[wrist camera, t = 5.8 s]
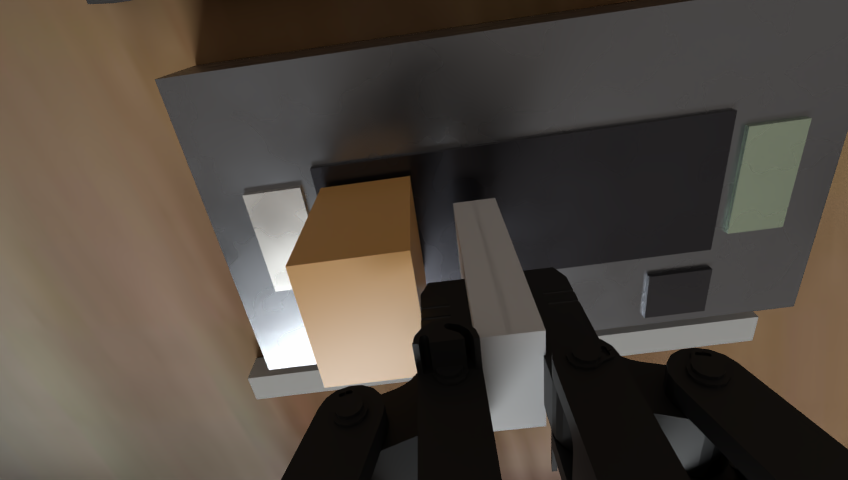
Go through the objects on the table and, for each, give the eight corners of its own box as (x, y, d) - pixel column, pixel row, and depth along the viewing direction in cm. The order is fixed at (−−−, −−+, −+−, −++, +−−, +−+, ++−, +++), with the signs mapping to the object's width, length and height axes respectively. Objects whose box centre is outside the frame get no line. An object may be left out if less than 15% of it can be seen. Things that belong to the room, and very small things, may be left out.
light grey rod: (264, 378, 24) (256, 399, 23) (256, 358, 23) (247, 378, 22) (733, 321, 23) (752, 340, 22) (739, 298, 22) (758, 316, 21)
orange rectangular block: (345, 286, 17) (324, 387, 13) (320, 188, 15) (285, 266, 11) (425, 276, 17) (431, 375, 13) (409, 175, 15) (410, 250, 11)
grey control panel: (285, 325, 22) (267, 373, 20) (194, 65, 17) (151, 80, 14) (746, 267, 22) (797, 309, 19) (815, -26, 16) (903, -30, 13)
